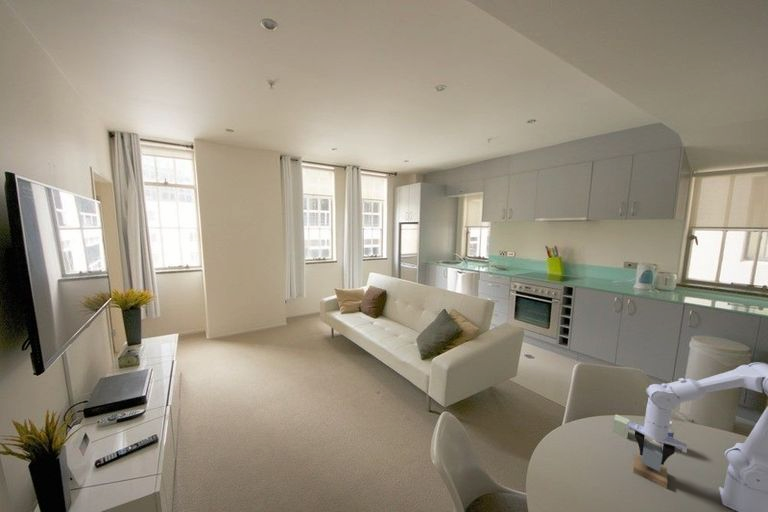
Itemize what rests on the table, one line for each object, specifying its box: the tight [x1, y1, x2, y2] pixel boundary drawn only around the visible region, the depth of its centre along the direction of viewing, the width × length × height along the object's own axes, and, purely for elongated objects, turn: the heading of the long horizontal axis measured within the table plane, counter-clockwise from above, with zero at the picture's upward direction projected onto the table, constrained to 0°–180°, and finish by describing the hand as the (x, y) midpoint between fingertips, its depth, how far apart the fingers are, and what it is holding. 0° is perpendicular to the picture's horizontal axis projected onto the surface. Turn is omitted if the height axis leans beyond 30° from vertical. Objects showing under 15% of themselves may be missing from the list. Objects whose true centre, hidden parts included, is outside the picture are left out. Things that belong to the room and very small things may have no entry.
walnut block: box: [632, 453, 668, 489], centre depth 94 cm, size 8×8×2 cm
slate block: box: [641, 439, 663, 472], centre depth 93 cm, size 4×4×6 cm
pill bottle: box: [652, 420, 675, 448], centre depth 107 cm, size 5×5×10 cm
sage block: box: [612, 413, 631, 440], centre depth 112 cm, size 4×4×6 cm
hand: (651, 458), depth 93 cm, fingers closed on slate block, 4 cm apart
